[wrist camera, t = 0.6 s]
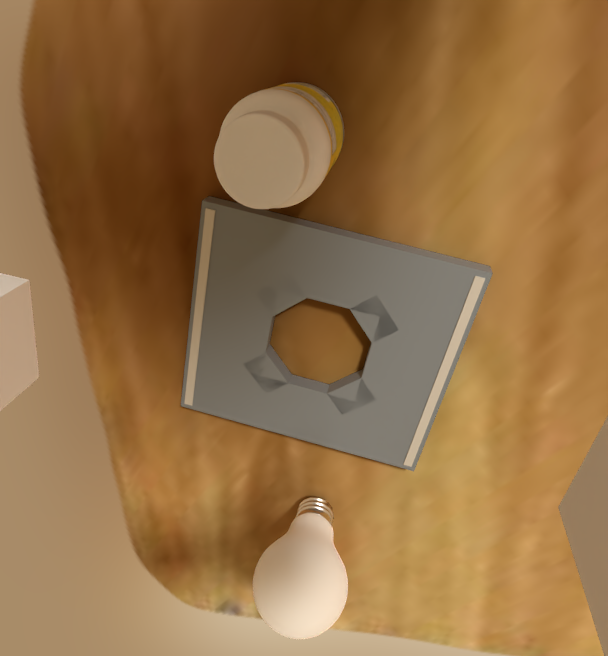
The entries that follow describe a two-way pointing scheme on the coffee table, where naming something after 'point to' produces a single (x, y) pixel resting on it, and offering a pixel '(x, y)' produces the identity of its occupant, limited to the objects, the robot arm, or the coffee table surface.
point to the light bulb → (302, 575)
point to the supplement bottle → (278, 145)
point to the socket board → (337, 289)
